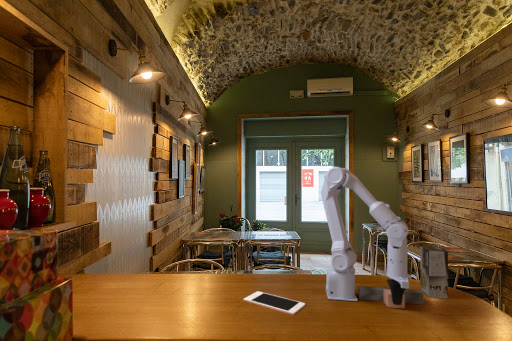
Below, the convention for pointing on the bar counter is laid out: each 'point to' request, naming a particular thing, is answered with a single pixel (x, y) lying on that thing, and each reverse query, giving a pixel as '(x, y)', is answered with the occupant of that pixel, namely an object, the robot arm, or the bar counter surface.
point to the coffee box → (434, 271)
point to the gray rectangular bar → (377, 293)
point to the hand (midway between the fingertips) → (396, 304)
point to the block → (388, 299)
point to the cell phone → (275, 302)
